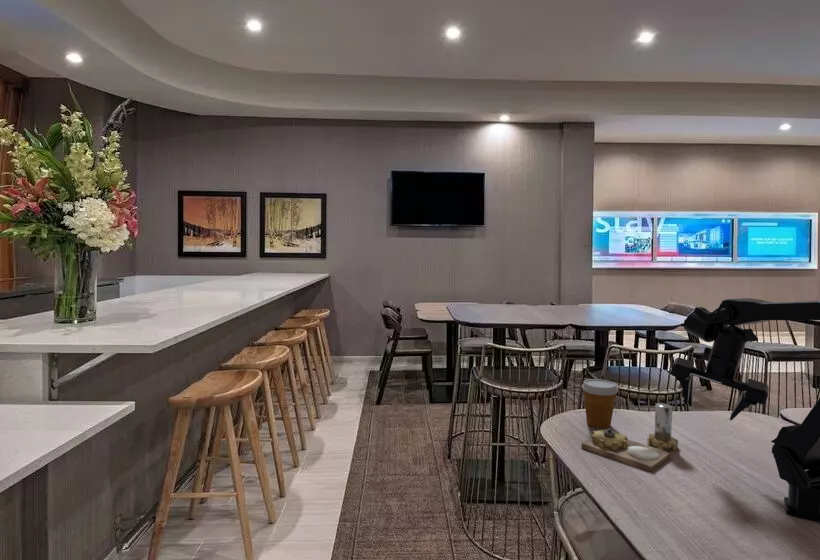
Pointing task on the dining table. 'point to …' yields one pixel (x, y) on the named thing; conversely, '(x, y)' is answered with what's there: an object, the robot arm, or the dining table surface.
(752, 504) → the dining table surface
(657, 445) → the pinion
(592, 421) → the disposable coffee cup
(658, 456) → the gear board
